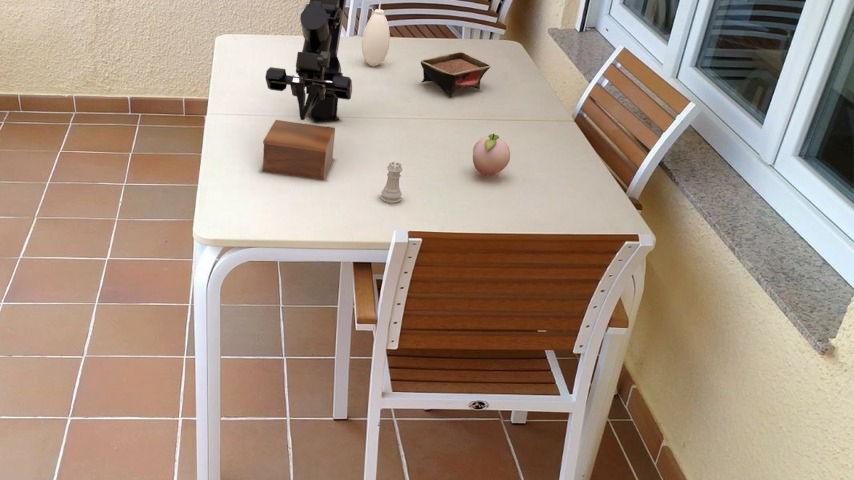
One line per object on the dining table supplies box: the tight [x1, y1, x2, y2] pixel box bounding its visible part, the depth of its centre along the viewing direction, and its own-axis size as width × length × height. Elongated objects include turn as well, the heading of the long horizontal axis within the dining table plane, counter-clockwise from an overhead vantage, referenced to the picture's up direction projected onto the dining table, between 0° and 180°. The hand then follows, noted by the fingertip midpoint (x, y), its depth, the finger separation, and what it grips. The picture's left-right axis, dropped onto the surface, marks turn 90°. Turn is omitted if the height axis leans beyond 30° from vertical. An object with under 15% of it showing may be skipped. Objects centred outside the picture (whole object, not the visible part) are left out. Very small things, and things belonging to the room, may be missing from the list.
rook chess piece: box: [380, 161, 403, 205], centre depth 202 cm, size 4×4×8 cm
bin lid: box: [262, 119, 336, 152], centre depth 211 cm, size 12×14×1 cm
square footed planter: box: [420, 51, 492, 98], centre depth 263 cm, size 14×18×10 cm
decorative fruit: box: [472, 133, 511, 177], centre depth 214 cm, size 9×8×10 cm
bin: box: [262, 131, 336, 181], centre depth 214 cm, size 12×14×7 cm
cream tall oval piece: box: [361, 0, 391, 67], centre depth 272 cm, size 8×8×18 cm
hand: (302, 119), depth 211 cm, fingers closed
